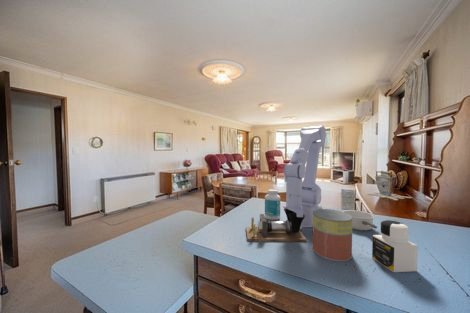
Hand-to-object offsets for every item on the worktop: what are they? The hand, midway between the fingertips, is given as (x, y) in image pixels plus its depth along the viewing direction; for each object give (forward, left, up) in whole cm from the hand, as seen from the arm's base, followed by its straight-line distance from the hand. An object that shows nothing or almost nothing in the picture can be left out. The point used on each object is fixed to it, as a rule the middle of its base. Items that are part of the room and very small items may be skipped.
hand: (293, 229), depth 73 cm
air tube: (+5, 0, -2) cm, 6 cm away
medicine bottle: (-23, +19, -2) cm, 30 cm away
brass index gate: (+15, 0, -2) cm, 16 cm away
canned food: (-9, +12, -2) cm, 15 cm away
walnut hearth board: (+7, 0, -2) cm, 8 cm away
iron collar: (+12, 0, -2) cm, 12 cm away
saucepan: (-30, -5, -2) cm, 30 cm away
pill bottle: (+4, -19, -2) cm, 20 cm away
